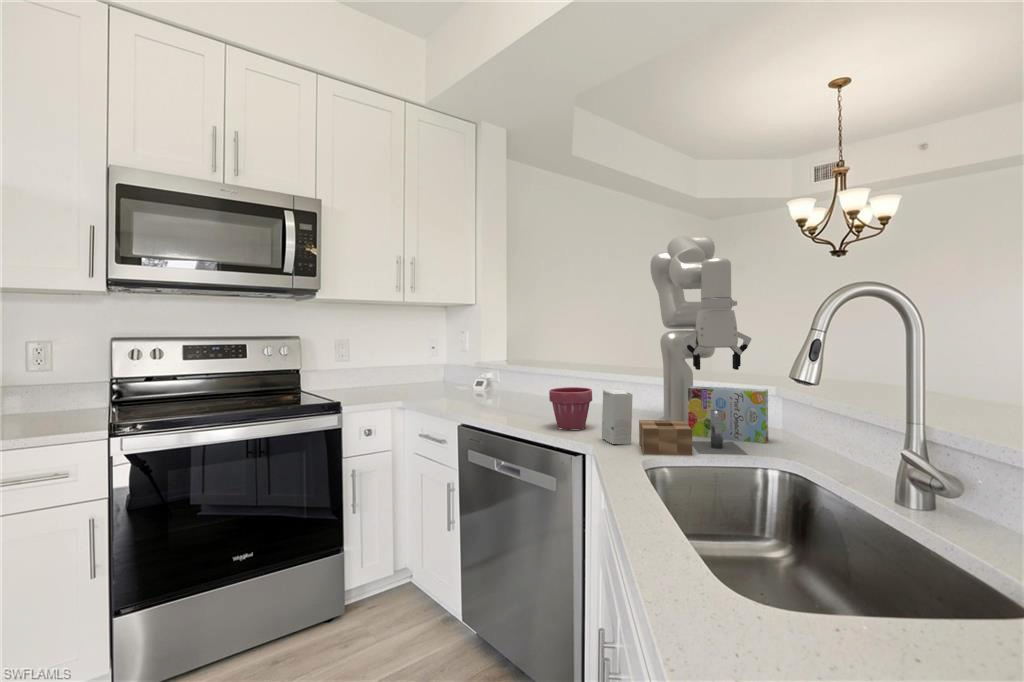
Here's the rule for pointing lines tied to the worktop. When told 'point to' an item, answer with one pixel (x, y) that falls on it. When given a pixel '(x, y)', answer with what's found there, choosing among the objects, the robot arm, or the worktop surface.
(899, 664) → the worktop surface
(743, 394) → the snack box
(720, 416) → the pin
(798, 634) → the worktop surface
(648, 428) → the hole block
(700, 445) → the mat
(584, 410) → the plant pot
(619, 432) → the skincare box
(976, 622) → the worktop surface
